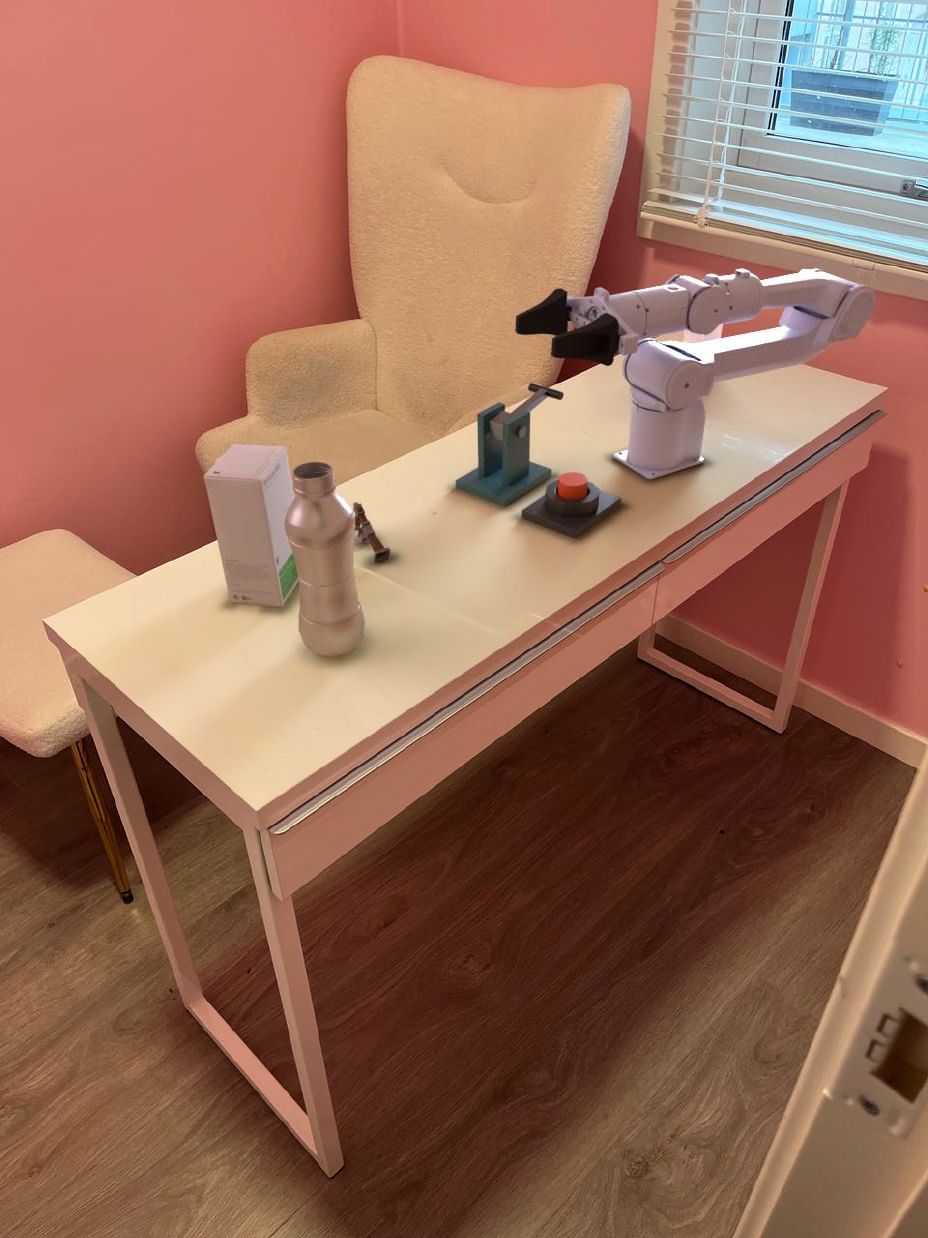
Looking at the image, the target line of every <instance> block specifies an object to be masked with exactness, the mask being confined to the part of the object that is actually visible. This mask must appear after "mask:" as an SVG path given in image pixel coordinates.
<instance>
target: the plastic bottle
mask: <svg viewBox="0 0 928 1238" xmlns="http://www.w3.org/2000/svg"><path fill="white" fill-rule="evenodd" d="M291 478H292V486H293V493H294V495H295V496H294V500H293V502H292V503H291V505H290V507H289V509H288V511H287V513H286V518H285V523H284V524H285V530H286V535H287V538H288V541H289V544H290V547H291V550H292V553H293V557H294V560H295V565H296V570H297V574H298V580H299V581H298V590H299V591H298V592H299V610H298V633H299V635H300V638H301V640H302V643H303V644H304V646H305V647H306V648H307V649H309V650H310V651H311V652H312V653H313V654H316V655H319V656H322V657H323V656H324V657H337V656H338V657H339V656H341V655H342V656H343V655H345V654H348V653H350V652H352V651H354V650H355V649H356V648H357V647H358V646H359V644H360V643H361V641H362V640H363V638H364V635H365V627H366V618H365V616H364V611H363V607H362V604H361V602H360V600H359V595H358V589H357V585H356V579H355V568H354V564H355V563H354V547H355V533H356V531H355V513H354V511H353V508H352V507H351V506H350V504H349V503H348V502H347V501H346V500H345V499H344V498H343V496H341V495H340V494H339V493H338V492H337V491H336V489H337V488H338V487H337V480H336V479H335V474H334V468H333V466H332V465H331V464H329V463H327V462H324V461H308V462H304V463H301V464H298V465H296V466H294V467H293V469H292V470H291Z"/></svg>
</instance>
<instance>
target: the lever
mask: <svg viewBox="0 0 928 1238" xmlns="http://www.w3.org/2000/svg"><path fill="white" fill-rule="evenodd" d="M527 390H528V391H529V392H531V393H533V394H532V395H531V396H529V397H528V398H527V399H526V400H524V401H523V402H522V403H521V404H520V405H519V406H518V407H516V408H515V409H514V410H513V411H512V412H508V411H506V410H505V411H502V412H500V413H499V414H498V415H497V416H495V417H494V418H493V419H492V420H491V421H489V423H490V430H491V437H492V438H495V439H498V440H501V441H503V422H504V421H506V420H507V419H509V418H511V417H513V416H515V415H516V414H518V413H520V412H522V411H524V410H525V411H528V412H530V413H531V412H532V411H533V410H534V409H535V408H537V407H538V406H539V405H540V404H541V403H542V402H544V401H545V400H546V399H547V398H552V399H554V400H558V401H562V400H563V398H564V396H565V394H564V391H560V390H557V389H554V388H551V387H547V386H544V385H541V384H537V383H533V382H530V383H529V384H528V386H527Z"/></svg>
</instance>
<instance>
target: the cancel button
mask: <svg viewBox="0 0 928 1238" xmlns="http://www.w3.org/2000/svg"><path fill="white" fill-rule="evenodd" d="M557 480H558V495H559V497H562V498H565V499H574V500H577V499H581V498H585V497H586V496H587V491H588V481H589V478H588V476H587V475H585V474H583V473H580V472H575V471H573V472H572V471H571V472H564V473H562V474H560V475H559V477H558V478H557Z"/></svg>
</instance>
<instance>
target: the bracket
mask: <svg viewBox="0 0 928 1238" xmlns="http://www.w3.org/2000/svg"><path fill="white" fill-rule="evenodd" d="M502 411H506V404H505V403H503V402H499V401H498V402H496V403H495V404H493V405H491V406H489V407H488V408H486V409H484V410H482V411H480V412H478V413H477V416H476V418H477V422H476V424H477V425H476V426H477V467H476V468H474V469H472V470H471V471H469V472H467V473H466V474H463V475H462V476H461V477H459V478H457V479H456V480H455V489H457V490H460V491H462V492H465V493H467V494H470V495H473V496H475V497H477V498H480V499H483V500H485V501H488V502H490V503H493V504H496V505H498V506H502V507H507V506H508V505H510V504H511V503H513V502H514V501H516V500H517V499H519V498H521V497H522V496H524V495H525V494H526V493H529V492H530V491H531V490H533V489H535V488H536V487H537V486H539V485H540V484H542V483H543V482H545V481H547V480H548V479H550V478H551V477H552V468H549V467H547V466H545V465H541V464H538V463H535V462H532V461H530V459H531V458H530V457H531V456H530V455H531V453H530V452H531V450H530V449H531V411H530V412H528V411H525V410H524V411H522V412H520V413H518V414H516V415H515V416H513V417H511V418H509V419H507V420H506V421H504V422H503V441H501V440H498V439H495V438H492V437H491V430H490V423H489V421H491V420H492V419H493V418H494V417H495V416H497V415H498V414H499V413H500V412H502Z"/></svg>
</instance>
